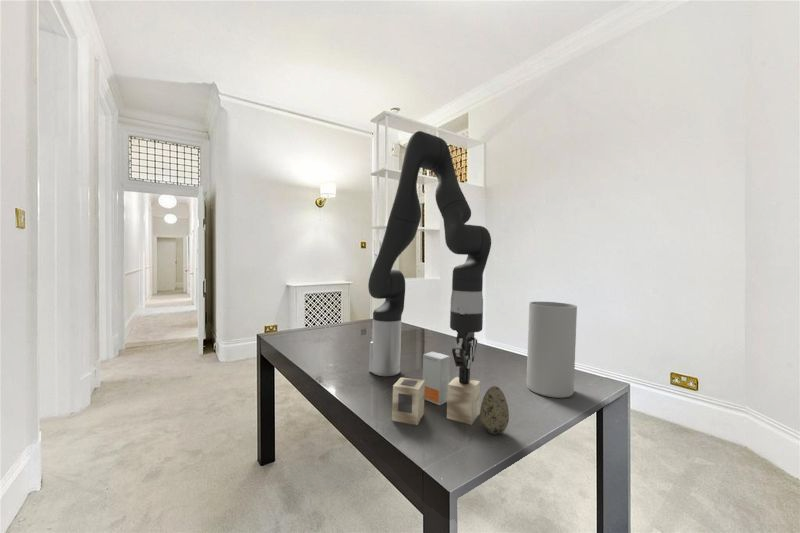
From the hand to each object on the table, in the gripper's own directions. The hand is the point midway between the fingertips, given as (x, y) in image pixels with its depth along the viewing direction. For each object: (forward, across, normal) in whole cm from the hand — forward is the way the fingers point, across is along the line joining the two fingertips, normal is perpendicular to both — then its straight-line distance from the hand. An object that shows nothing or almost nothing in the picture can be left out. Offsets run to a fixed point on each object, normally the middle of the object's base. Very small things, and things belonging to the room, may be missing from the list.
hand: (464, 382), depth 78 cm
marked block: (+8, +7, -11) cm, 15 cm away
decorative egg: (+8, +4, +8) cm, 12 cm away
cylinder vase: (+8, -29, +17) cm, 35 cm away
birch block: (+8, 0, 0) cm, 8 cm away
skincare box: (+8, -5, -9) cm, 13 cm away
